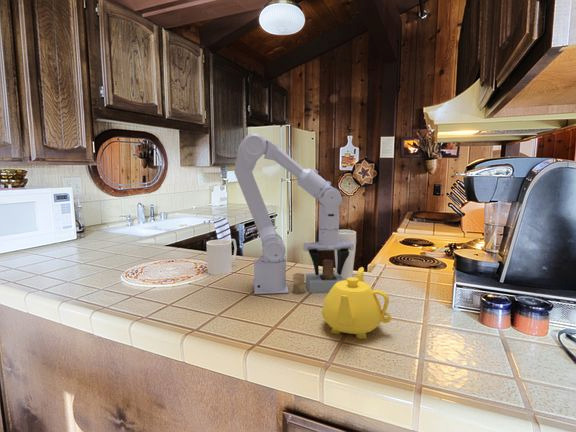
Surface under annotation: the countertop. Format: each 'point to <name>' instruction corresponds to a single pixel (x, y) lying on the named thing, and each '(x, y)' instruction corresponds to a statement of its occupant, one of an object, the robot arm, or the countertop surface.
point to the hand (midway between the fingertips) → (328, 274)
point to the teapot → (354, 307)
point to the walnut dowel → (328, 270)
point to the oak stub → (298, 283)
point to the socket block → (321, 282)
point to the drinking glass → (349, 263)
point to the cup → (220, 256)
